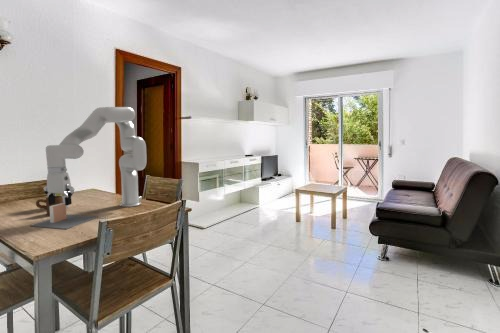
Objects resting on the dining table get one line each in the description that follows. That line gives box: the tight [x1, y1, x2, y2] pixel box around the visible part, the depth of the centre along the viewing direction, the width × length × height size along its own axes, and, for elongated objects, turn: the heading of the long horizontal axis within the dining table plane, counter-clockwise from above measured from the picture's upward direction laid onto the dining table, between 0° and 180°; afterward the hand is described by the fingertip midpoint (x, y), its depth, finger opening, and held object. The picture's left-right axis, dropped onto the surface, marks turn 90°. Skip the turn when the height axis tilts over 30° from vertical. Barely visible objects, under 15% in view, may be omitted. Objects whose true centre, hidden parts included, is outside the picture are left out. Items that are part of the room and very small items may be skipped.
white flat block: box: [49, 203, 67, 223], centre depth 141 cm, size 7×2×8 cm, turn 168°
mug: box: [35, 196, 63, 217], centre depth 153 cm, size 12×8×9 cm, turn 130°
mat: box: [29, 214, 99, 230], centre depth 140 cm, size 20×20×1 cm
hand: (60, 204), depth 141 cm, fingers open, 9 cm apart
